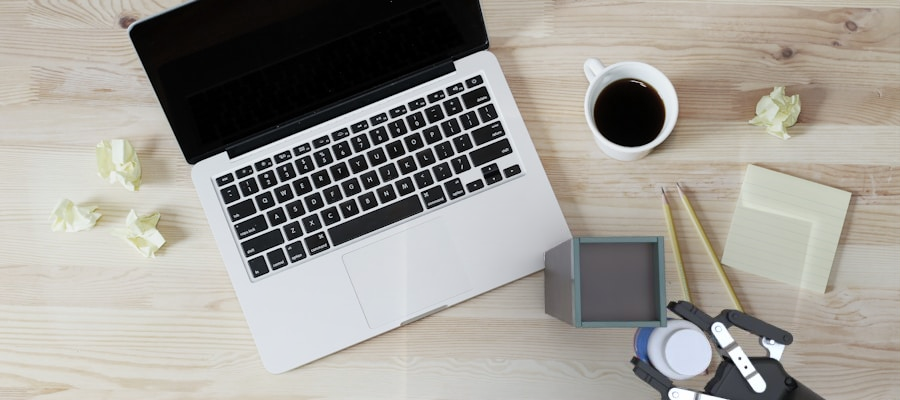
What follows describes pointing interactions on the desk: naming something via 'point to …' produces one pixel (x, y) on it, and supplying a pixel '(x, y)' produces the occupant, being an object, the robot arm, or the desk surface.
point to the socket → (658, 282)
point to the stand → (601, 282)
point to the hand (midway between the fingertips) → (652, 332)
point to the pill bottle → (674, 349)
